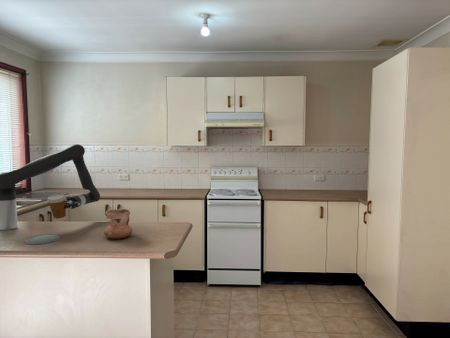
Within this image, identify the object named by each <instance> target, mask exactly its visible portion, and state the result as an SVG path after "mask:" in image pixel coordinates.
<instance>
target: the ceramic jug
mask: <svg viewBox="0 0 450 338" xmlns="http://www.w3.org/2000/svg"><path fill="white" fill-rule="evenodd" d="M130 214H131V210H130V209H128V208H127V209H126V208H114V209H108V210H106V211H105V216H106V219H107V220H106V222H107V223H109V225H108V226H107V227H105V229H104V230H103V234H104V236H105V237H106V238H108V239H112V240H120V239H126V238H128V237H129V236H130V235H132V234H133V228H132V227H131V226H129V223H130Z"/></svg>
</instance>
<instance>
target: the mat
mask: <svg viewBox="0 0 450 338" xmlns="http://www.w3.org/2000/svg"><path fill="white" fill-rule="evenodd" d="M60 239H61V237H60V236H59V235H57V234H56V235H54V234H45V235H44V234H43V235H38V236H34V237H30V238H28V239H26V240H24V244H25V245H31V246H32V245H33V246H34V245H35V246H36V244H38V245H44V244H50V243H53V242H57V241H59V240H60Z"/></svg>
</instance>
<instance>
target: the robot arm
mask: <svg viewBox="0 0 450 338" xmlns="http://www.w3.org/2000/svg"><path fill="white" fill-rule="evenodd" d="M85 151H86V149H85V148H84V146H83V145H81V144H77V143H75V144H72V145H71V146H69V147H67V148H66V149H63V150H61V151H58V152H56V153H51V154H48V155H45V156H42V157H39V158H37V159H34V160H33V161H30V162H28V163H27V164H24V165H23V166H22V167H20V168H17V169H14V170H10V171H7V172H5V171H4V172H1V173H0V230H1V231H6V230H7V231H8V230H13V229H16V228H18V227H19V225H18V209H17V192H16V185H17V184H19V183H21V182H23V181H26V180H27V179H31V178H34V177H38V176H40V175H42V174H45V173H47V172H50V171H53V170H54V169H56V168H58V167H60V166H61V165H63V164H65V163H68V162H70V161H71V162H73V164H74V167H75V169H76V172H77V176H78V178H79V181H80V184H81V187H82V189H83V190H85V191H87V190H88V191H89V192H86V193H81V194H75V195H71V196H69V197H66V199H65V200H66V204H65V205H64V208H65V209H71V210H73V209H77V208H80V207H82V206H85V205H88V204H91V203H95V202H98V201H99V200H100V199H101V194H100V192H99V190H98V189H97V187H96V186H95V184H94V182H93V179H92V176H91V174H90V172H89V169H88V167H87V165H86V162H85V159H84V156H85V153H86V152H85Z"/></svg>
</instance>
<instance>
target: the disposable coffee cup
mask: <svg viewBox="0 0 450 338" xmlns="http://www.w3.org/2000/svg"><path fill="white" fill-rule="evenodd" d="M66 200H67V196H66V195H65V194H64V193H55V194H52V195H49V196H48V197H47V200H46V201H47V202H48V204H49V208H50V211H51V214H52V217H53V219H63V218H65V217H66V215H67V214H66V209H67V208H66V209H65V208H64V205H65V204H66Z"/></svg>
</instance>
